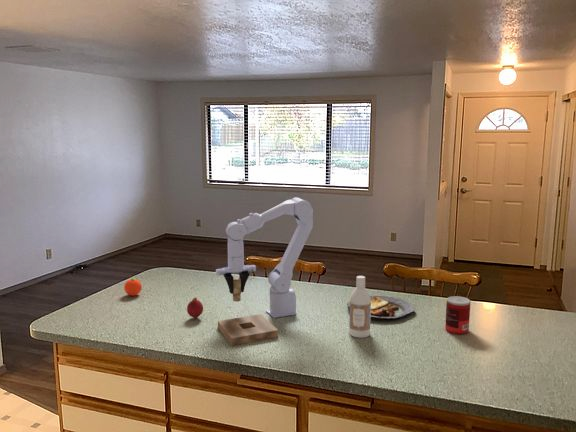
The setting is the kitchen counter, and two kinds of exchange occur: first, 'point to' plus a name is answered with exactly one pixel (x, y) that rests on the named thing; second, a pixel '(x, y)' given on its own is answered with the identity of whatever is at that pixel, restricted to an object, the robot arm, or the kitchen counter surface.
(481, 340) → the kitchen counter surface
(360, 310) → the bath foam
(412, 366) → the kitchen counter surface
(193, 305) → the pomegranate
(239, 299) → the peg
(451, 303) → the canned food
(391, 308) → the food plate
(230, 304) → the kitchen counter surface
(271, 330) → the board
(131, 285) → the clementine
